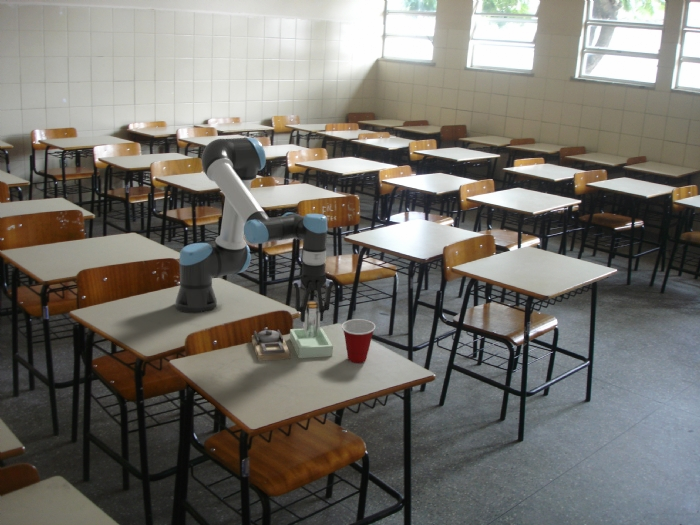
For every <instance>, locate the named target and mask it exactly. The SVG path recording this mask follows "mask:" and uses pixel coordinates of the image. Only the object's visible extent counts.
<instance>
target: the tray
mask: <svg viewBox="0 0 700 525" xmlns="http://www.w3.org/2000/svg"><path fill="white" fill-rule="evenodd" d="M289 340H290V343H291V344H292V346H293V349H294V350H295V353H296V355H297V357H298V358H299V359H306V358H317V357H318V358H323V357H333V352H334V351H333V350H334V346H333V344H332V342H331V340H330V339H329V337H328V336H327V333H326V332H325V331H324V329H323V327H320V331H318V332H317V336H316V337H307V336H306V332H304V330H303V328H292V329H291V328H290V330H289Z"/></svg>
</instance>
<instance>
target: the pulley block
mask: <svg viewBox="0 0 700 525" xmlns="http://www.w3.org/2000/svg"><path fill="white" fill-rule="evenodd" d="M251 343H252V345H253V349H254V351H255V355H256V357H257V359H258V360H257V361H259V362H260V361H274V360H290V359H291V352H290V350H289V348H288V346H287V343H286V341H285V338H284V337H283V335H282V333H281V330H280V329H277V331H276V330H273V329H272V330H271V329H266V330H261V331H259V332H257V330H254V331H253V335H251Z"/></svg>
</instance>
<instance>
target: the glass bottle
mask: <svg viewBox="0 0 700 525" xmlns="http://www.w3.org/2000/svg"><path fill="white" fill-rule="evenodd" d="M318 310H319V308H318V301H317V302H316V301H308V303H307V307H306V312H307V313H308V316H307V332H306V336H307V337H316V336H317V313H318Z"/></svg>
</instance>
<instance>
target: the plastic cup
mask: <svg viewBox="0 0 700 525" xmlns="http://www.w3.org/2000/svg"><path fill="white" fill-rule="evenodd" d="M341 330H343V334H344V340H345V341H344V342H345V347H346V353H347V355H346V356H347V360H348V361H349V362H351V363H353V364H362V363H364V362H366V361H367V357H368V354H369V351H370V346H371V342H372V337H373V334H374V331H375V330H376V324H375V323H374V322H373V321H370V320H367V319H363V318H362V319H361V318H354V319H348V320H347V321H346V320H345V321H344V322H343V323H342V324H341Z"/></svg>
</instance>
